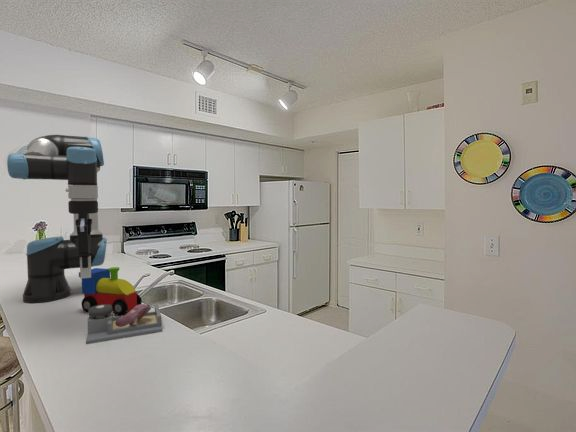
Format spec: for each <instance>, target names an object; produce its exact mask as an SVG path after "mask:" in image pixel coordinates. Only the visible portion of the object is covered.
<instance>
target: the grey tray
mask: <svg viewBox="0 0 576 432" xmlns="http://www.w3.org/2000/svg"><path fill="white" fill-rule="evenodd" d="M160 311H161V309H160V307H159V304H155V305H154V311H149V312H148V313H147V314H145V315H144V316H143V317H142V319H141V320H139V321H136V322H135V323H134V324H133V325H129V324H128V325H125V326H122V327H118V326H116V324H115V323H116V320H117V319H119V318H121V317H123V316H124V315H122V316H120V315H117V316H114V312H113V311H112V312H111V313H110V314H107V315H105V317H103V318H96V317H92V316H89V315H88V318H87V336H86V340H85V344H86V345H88V344H95V343H100V342H107V341H113V340H117V338H119V339H124V338H123V337H125V338H131V337H136V336H141V335H142V336H143V335H148V334H155V333H161V332H163V327H162V314H161V312H160ZM112 339H113V340H112Z"/></svg>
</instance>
